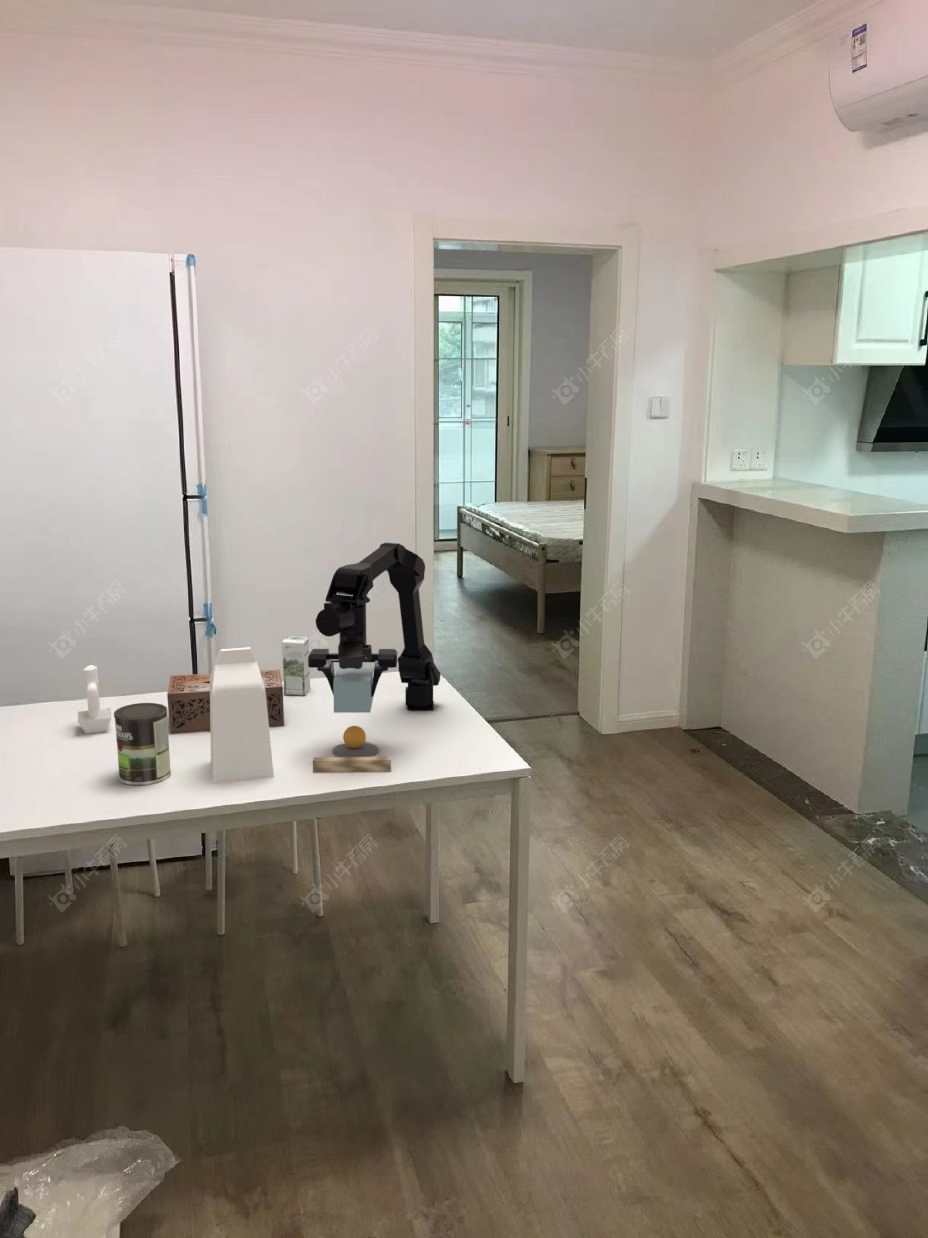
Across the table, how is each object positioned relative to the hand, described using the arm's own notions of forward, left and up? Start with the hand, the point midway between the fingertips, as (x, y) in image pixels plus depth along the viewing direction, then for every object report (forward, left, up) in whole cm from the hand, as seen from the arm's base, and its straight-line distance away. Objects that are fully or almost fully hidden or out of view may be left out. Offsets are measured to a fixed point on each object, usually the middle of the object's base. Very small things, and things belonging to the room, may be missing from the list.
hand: (353, 696), depth 216 cm
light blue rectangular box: (0, 0, -2) cm, 2 cm away
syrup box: (+18, -42, -13) cm, 47 cm away
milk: (+23, +10, -13) cm, 28 cm away
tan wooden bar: (0, +11, -12) cm, 17 cm away
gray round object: (0, 0, -12) cm, 12 cm away
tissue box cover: (+32, -21, -13) cm, 40 cm away
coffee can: (+42, +13, -13) cm, 46 cm away
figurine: (+61, -15, -13) cm, 64 cm away
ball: (0, -2, -10) cm, 10 cm away
